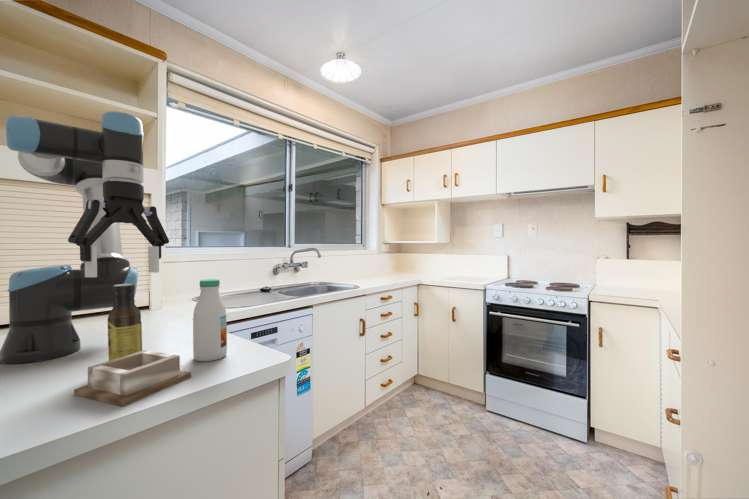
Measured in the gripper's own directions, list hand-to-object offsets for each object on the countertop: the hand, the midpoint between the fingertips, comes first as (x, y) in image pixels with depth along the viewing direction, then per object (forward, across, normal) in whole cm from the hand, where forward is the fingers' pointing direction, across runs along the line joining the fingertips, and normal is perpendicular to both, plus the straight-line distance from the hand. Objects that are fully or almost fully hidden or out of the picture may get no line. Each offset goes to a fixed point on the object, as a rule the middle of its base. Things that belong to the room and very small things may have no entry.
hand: (125, 274), depth 76 cm
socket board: (+22, -5, -11) cm, 25 cm away
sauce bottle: (+22, 0, 0) cm, 22 cm away
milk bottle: (+22, +13, -11) cm, 28 cm away
